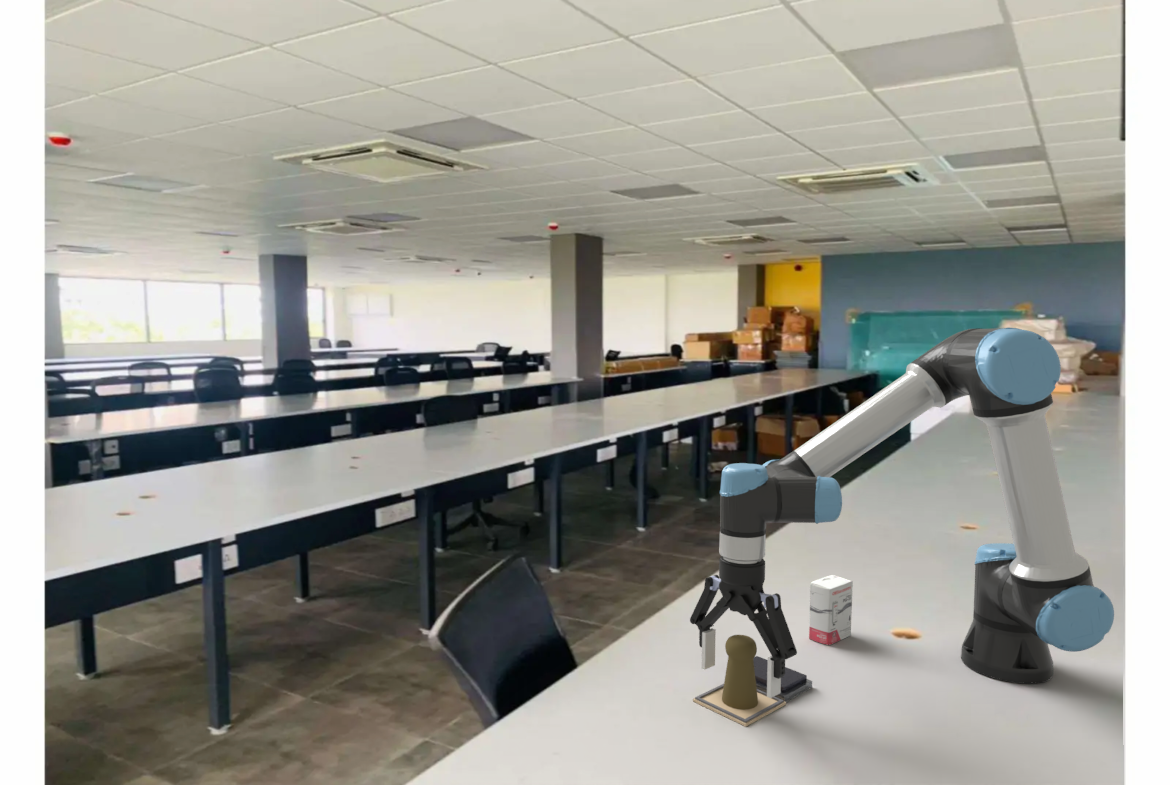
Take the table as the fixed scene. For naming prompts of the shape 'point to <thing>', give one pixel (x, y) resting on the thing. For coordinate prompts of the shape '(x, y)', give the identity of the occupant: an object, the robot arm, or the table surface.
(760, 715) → the print card
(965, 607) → the table surface
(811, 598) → the ink box
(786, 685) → the ink pad
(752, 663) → the olive chess pawn
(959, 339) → the robot arm
